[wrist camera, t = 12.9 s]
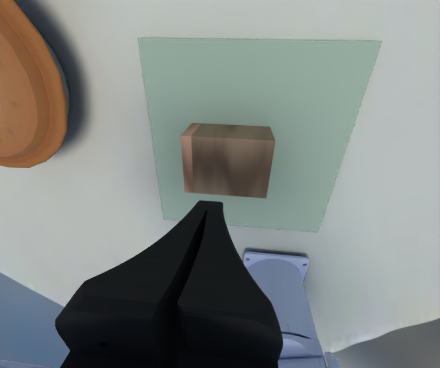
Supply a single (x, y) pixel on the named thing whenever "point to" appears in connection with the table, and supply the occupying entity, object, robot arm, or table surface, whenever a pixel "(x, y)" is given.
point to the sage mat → (258, 116)
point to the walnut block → (227, 159)
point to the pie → (29, 92)
